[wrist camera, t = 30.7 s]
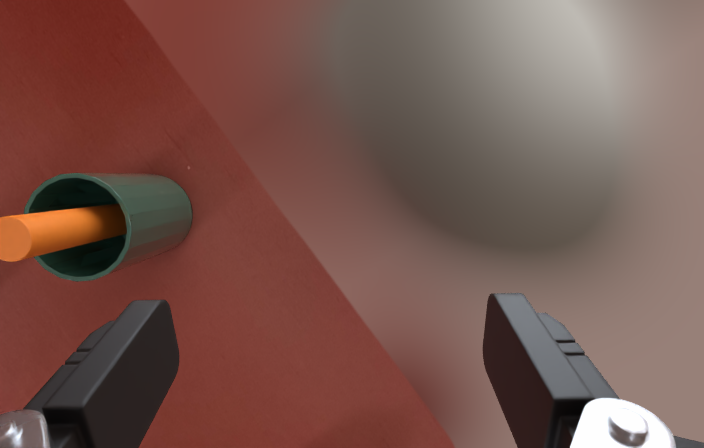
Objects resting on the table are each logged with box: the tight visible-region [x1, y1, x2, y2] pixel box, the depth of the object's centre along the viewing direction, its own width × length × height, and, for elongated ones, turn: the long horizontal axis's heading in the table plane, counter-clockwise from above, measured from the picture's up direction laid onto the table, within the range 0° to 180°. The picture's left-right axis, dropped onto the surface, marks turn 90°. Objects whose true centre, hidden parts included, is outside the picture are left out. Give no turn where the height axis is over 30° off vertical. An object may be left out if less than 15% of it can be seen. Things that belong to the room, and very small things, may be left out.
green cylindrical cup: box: [24, 173, 192, 282], centre depth 34 cm, size 7×7×11 cm
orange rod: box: [0, 204, 127, 262], centre depth 31 cm, size 2×2×16 cm
